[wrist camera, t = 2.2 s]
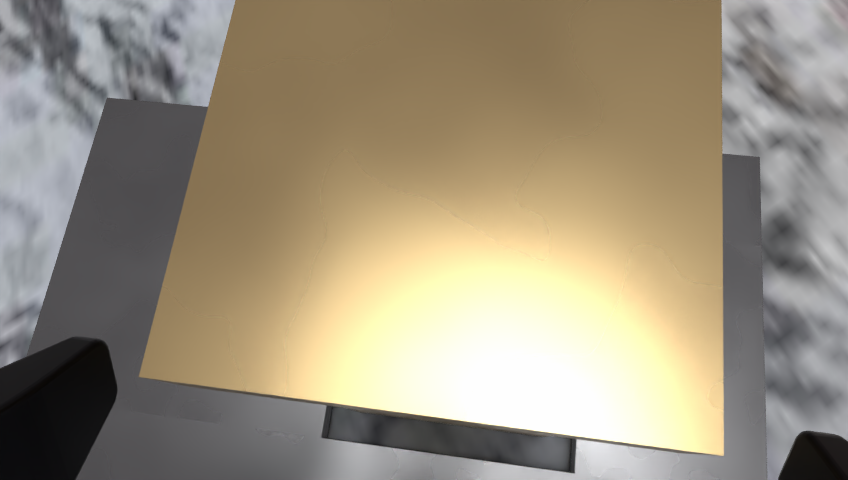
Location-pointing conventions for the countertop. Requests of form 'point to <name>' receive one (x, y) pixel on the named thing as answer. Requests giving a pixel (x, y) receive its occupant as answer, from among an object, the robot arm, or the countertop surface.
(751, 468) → the grey plate with hole
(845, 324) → the countertop surface
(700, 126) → the tan square peg
